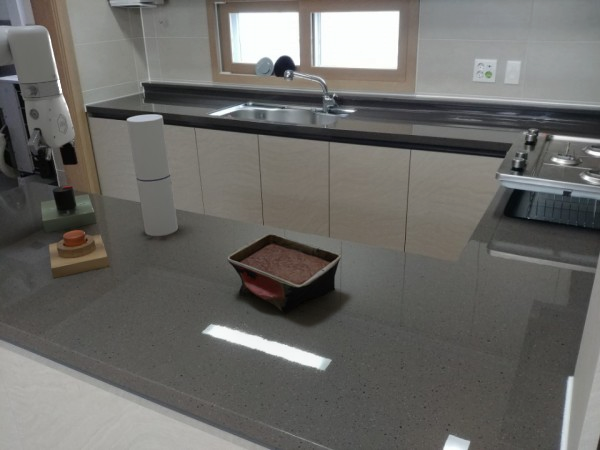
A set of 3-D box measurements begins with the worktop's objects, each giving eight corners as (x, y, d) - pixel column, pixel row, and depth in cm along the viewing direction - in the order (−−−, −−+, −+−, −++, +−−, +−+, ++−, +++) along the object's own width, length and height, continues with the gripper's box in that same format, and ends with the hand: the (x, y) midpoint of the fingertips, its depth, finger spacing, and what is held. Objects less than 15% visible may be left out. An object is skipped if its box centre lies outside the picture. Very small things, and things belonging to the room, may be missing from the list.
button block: (51, 254, 110) (46, 236, 109) (102, 243, 114) (98, 226, 112) (53, 278, 100) (49, 259, 98) (109, 266, 104) (105, 247, 102)
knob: (57, 211, 124) (52, 191, 123) (56, 205, 128) (51, 186, 126) (77, 207, 126) (72, 188, 124) (75, 201, 130) (71, 183, 128)
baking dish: (288, 338, 83) (296, 283, 79) (216, 286, 93) (219, 235, 89) (346, 306, 93) (356, 256, 89) (275, 262, 103) (281, 215, 99)
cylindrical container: (139, 235, 117) (119, 121, 107) (154, 222, 124) (137, 114, 114) (169, 237, 116) (152, 122, 106) (183, 224, 122) (168, 114, 112)
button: (64, 242, 106) (62, 232, 106) (85, 237, 108) (83, 228, 107) (65, 249, 103) (63, 240, 102) (87, 245, 105) (85, 235, 104)
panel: (43, 213, 132) (40, 201, 131) (90, 205, 136) (88, 193, 135) (45, 233, 120) (42, 220, 119) (96, 223, 125) (94, 210, 123)
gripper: (37, 96, 101) (58, 183, 107) (78, 83, 117) (93, 159, 123) (-1, 98, 101) (22, 184, 108) (45, 84, 117) (62, 160, 124)
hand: (60, 171), depth 116 cm, fingers open, 9 cm apart
